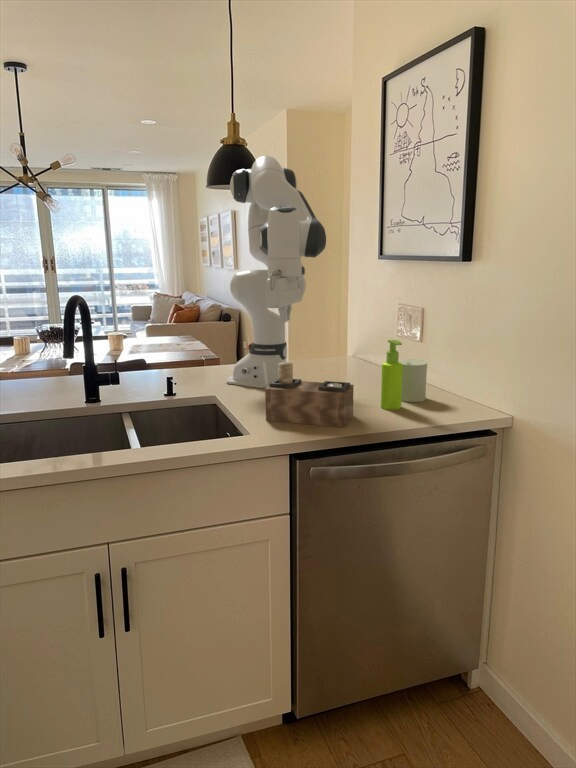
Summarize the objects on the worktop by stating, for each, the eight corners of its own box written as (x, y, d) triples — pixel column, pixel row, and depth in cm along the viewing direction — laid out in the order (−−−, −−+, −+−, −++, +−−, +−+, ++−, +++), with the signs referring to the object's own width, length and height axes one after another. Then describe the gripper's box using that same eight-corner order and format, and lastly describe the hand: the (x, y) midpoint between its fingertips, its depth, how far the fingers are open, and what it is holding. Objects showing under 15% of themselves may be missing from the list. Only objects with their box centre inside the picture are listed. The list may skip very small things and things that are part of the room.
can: (390, 399, 174) (392, 361, 171) (402, 393, 181) (403, 356, 178) (419, 403, 169) (421, 364, 166) (430, 397, 176) (432, 359, 173)
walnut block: (265, 420, 155) (265, 384, 152) (279, 409, 165) (279, 376, 162) (343, 427, 147) (344, 390, 145) (353, 415, 158) (353, 381, 155)
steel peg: (325, 414, 152) (325, 386, 150) (329, 410, 156) (329, 382, 154) (339, 415, 151) (339, 387, 149) (343, 411, 155) (343, 383, 153)
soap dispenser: (387, 411, 161) (390, 342, 156) (377, 405, 168) (379, 339, 163) (406, 409, 163) (408, 341, 158) (395, 403, 169) (397, 338, 165)
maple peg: (276, 393, 156) (276, 364, 154) (281, 389, 159) (281, 362, 157) (290, 394, 154) (289, 365, 152) (294, 390, 158) (294, 362, 156)
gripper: (282, 271, 138) (283, 327, 142) (307, 268, 157) (307, 317, 160) (258, 271, 140) (260, 326, 144) (285, 268, 159) (286, 317, 162)
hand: (285, 321), depth 152 cm, fingers closed
